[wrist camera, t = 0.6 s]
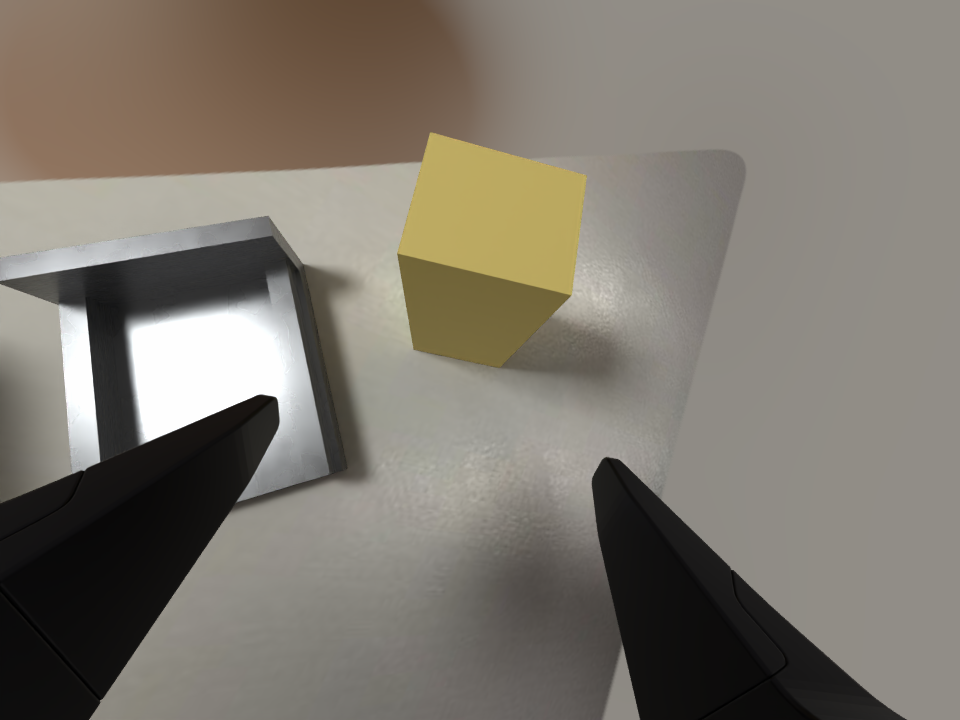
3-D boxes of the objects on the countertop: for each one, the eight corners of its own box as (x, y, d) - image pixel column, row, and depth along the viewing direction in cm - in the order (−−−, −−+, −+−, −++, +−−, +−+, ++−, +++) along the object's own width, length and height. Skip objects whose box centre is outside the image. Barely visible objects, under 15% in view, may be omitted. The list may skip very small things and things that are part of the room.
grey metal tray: (347, 468, 21) (321, 477, 16) (120, 537, 19) (6, 573, 14) (302, 263, 23) (268, 215, 18) (97, 301, 21) (-7, 258, 16)
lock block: (499, 367, 24) (571, 295, 12) (413, 349, 23) (397, 253, 11) (510, 302, 25) (586, 175, 13) (429, 283, 24) (430, 132, 12)
